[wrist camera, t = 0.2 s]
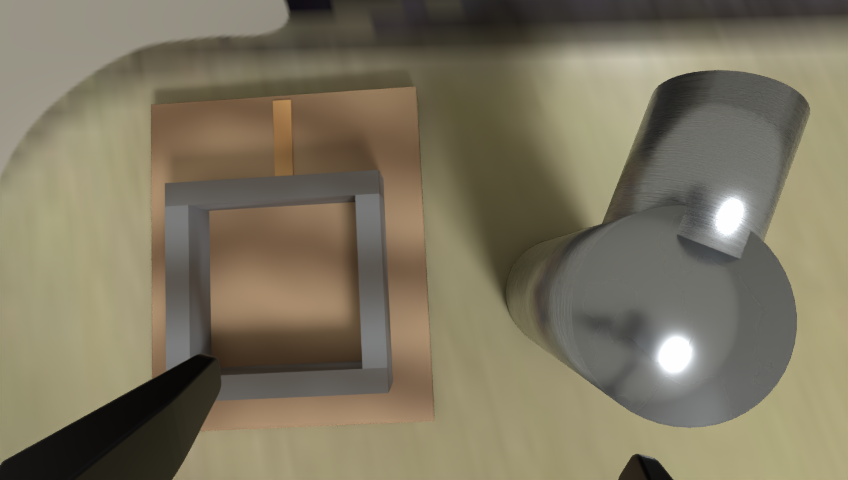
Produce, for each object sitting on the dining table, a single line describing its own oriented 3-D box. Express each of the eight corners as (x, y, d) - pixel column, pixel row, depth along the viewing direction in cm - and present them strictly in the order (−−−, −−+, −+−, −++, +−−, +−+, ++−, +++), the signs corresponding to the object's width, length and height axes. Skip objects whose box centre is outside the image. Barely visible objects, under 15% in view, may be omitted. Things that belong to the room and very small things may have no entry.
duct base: (434, 414, 23) (433, 435, 20) (164, 426, 24) (125, 448, 21) (416, 93, 25) (413, 69, 22) (162, 111, 25) (125, 89, 22)
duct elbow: (592, 366, 23) (758, 467, 11) (489, 323, 24) (541, 375, 12) (657, 197, 24) (881, 118, 12) (555, 157, 24) (670, 42, 12)
